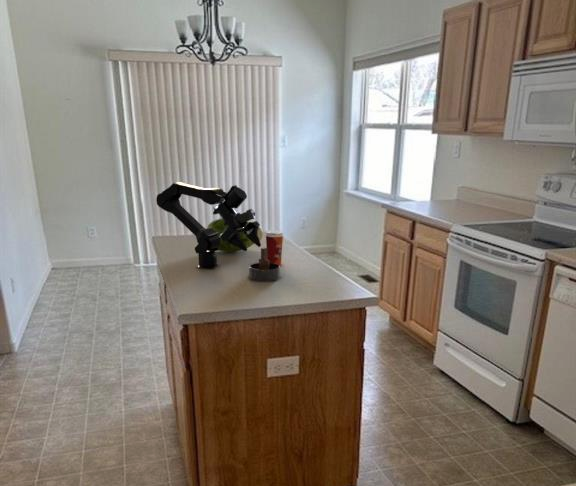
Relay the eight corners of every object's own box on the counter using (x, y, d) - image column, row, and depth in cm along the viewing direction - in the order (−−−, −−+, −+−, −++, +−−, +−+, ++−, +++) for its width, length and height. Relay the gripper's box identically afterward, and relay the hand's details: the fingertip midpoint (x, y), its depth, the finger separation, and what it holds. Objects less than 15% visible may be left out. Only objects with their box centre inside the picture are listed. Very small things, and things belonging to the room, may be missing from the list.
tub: (244, 279, 202) (244, 268, 201) (255, 272, 213) (255, 261, 211) (273, 282, 199) (274, 271, 198) (282, 275, 210) (283, 263, 208)
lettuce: (267, 252, 245) (268, 218, 239) (211, 256, 236) (209, 221, 230) (257, 245, 258) (257, 213, 252) (203, 249, 248) (201, 215, 243)
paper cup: (281, 268, 219) (281, 234, 214) (263, 266, 220) (263, 233, 215) (285, 263, 226) (285, 230, 221) (267, 262, 228) (267, 229, 222)
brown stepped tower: (254, 276, 205) (253, 248, 201) (262, 273, 209) (262, 245, 205) (266, 279, 202) (266, 250, 198) (274, 275, 207) (274, 247, 203)
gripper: (226, 205, 193) (251, 239, 192) (255, 199, 208) (279, 231, 207) (210, 224, 200) (234, 257, 199) (239, 217, 215) (262, 248, 214)
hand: (253, 248), depth 204 cm, fingers open, 9 cm apart
